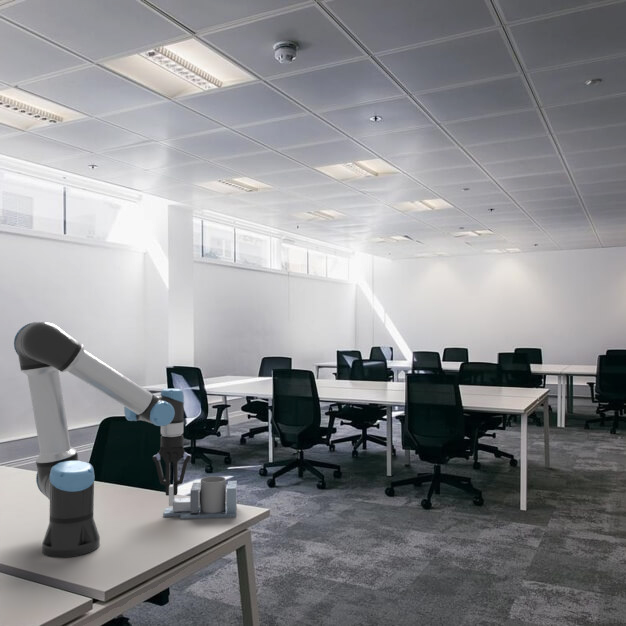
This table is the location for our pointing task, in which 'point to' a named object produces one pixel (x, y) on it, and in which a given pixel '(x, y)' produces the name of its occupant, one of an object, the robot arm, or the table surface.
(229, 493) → the vise base
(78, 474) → the robot arm
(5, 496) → the table surface
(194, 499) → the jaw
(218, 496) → the cup
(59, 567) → the table surface
